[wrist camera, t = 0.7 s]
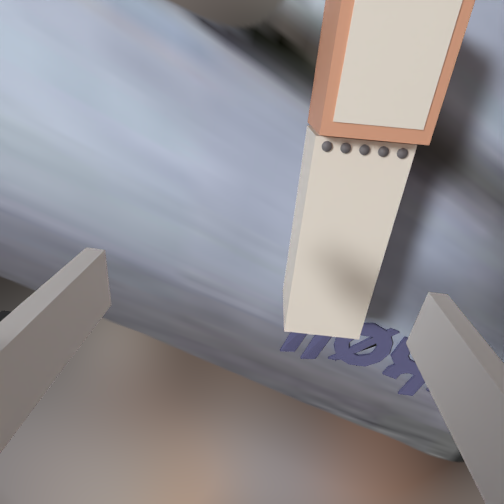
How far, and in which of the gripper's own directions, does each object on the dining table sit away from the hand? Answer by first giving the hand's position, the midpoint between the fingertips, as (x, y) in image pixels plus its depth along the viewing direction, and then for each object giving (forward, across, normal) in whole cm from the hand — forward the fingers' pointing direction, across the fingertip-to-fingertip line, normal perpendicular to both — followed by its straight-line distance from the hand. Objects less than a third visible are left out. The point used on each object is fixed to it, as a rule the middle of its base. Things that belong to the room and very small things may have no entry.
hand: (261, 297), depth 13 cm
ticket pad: (+24, +7, -5) cm, 26 cm away
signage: (+24, +20, -25) cm, 40 cm away
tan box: (+24, +7, +10) cm, 27 cm away
